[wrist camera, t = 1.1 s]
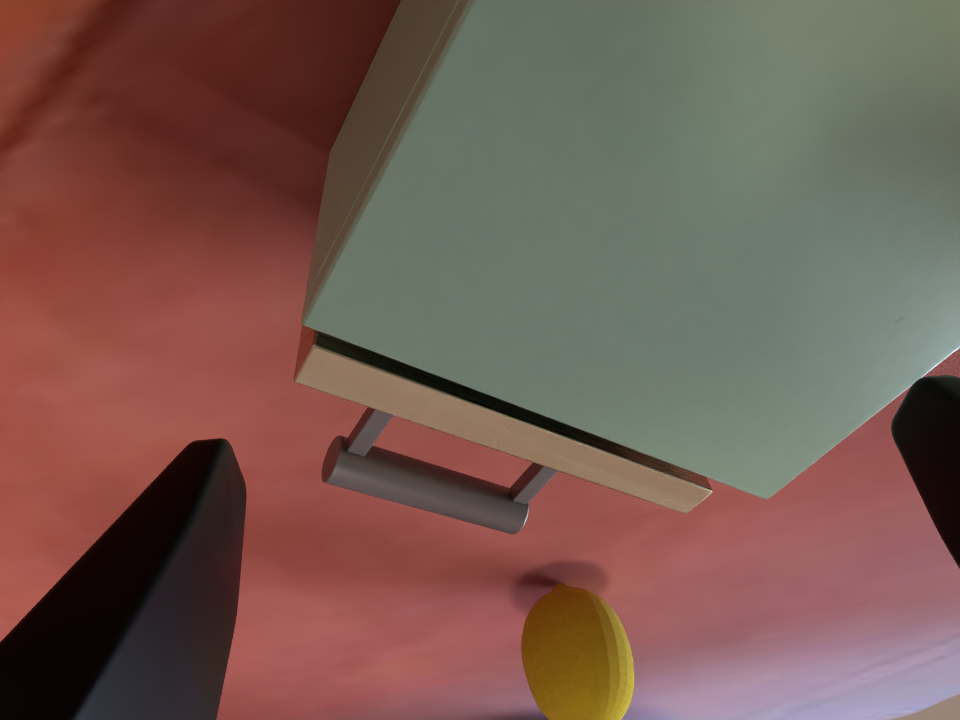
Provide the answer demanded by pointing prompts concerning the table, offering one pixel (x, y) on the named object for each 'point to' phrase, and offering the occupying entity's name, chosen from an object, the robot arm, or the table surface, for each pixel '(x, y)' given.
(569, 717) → the lemon
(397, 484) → the drawer
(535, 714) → the table surface
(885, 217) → the pale green box
